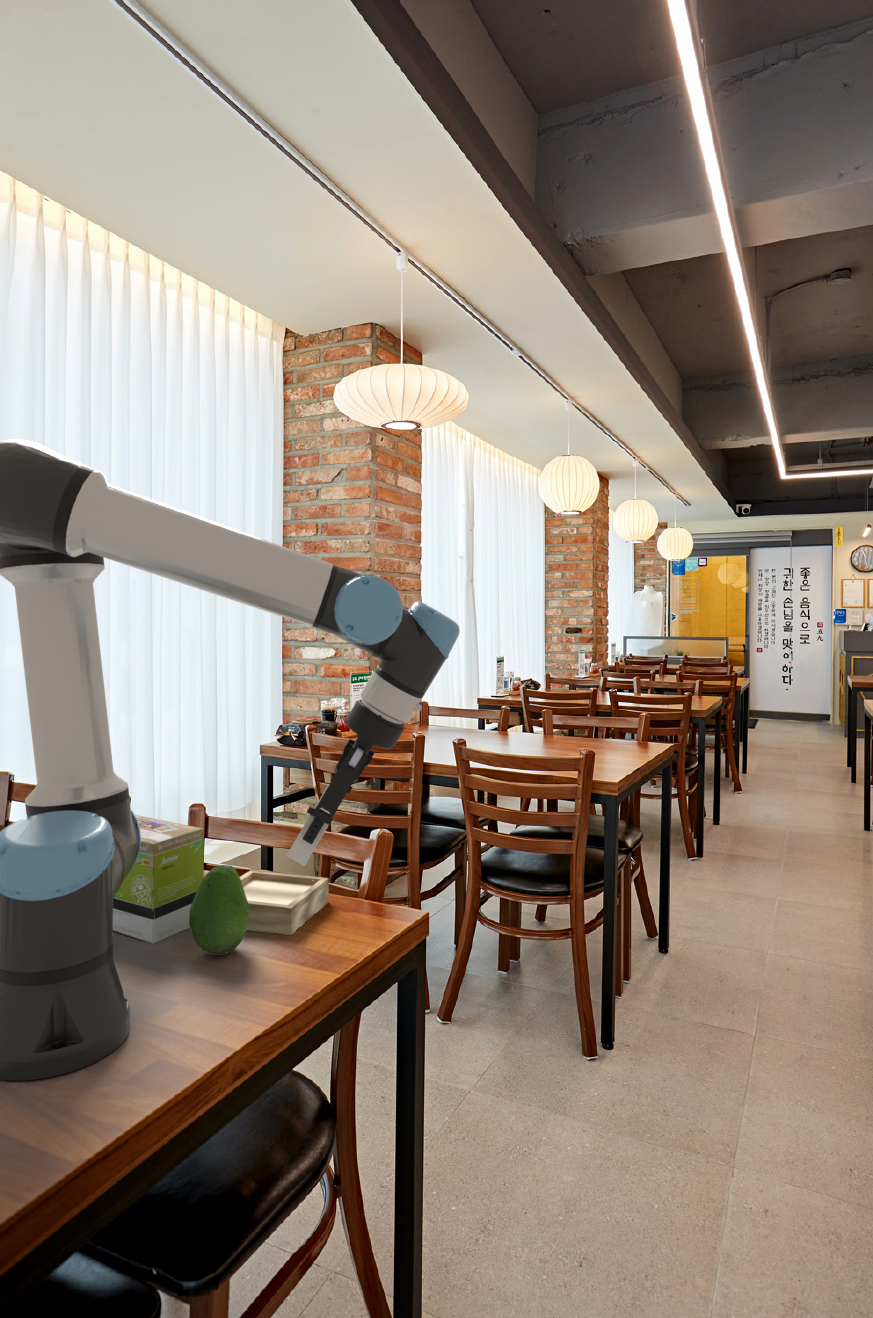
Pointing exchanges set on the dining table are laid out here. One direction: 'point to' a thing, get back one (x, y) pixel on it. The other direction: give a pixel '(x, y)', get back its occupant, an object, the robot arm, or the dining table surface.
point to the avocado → (219, 911)
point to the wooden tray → (282, 900)
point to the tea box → (160, 881)
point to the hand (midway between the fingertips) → (305, 842)
